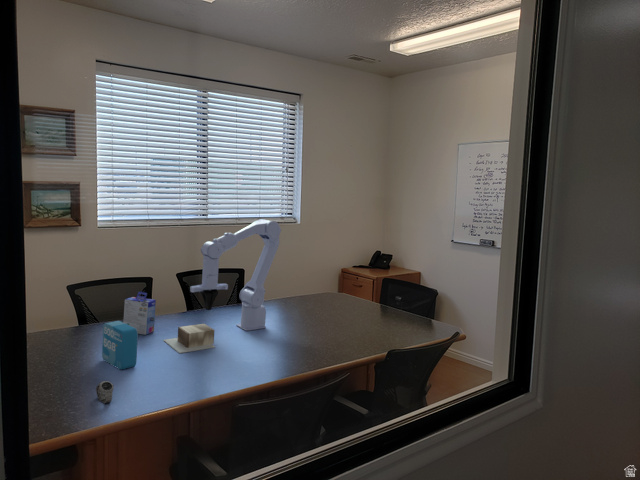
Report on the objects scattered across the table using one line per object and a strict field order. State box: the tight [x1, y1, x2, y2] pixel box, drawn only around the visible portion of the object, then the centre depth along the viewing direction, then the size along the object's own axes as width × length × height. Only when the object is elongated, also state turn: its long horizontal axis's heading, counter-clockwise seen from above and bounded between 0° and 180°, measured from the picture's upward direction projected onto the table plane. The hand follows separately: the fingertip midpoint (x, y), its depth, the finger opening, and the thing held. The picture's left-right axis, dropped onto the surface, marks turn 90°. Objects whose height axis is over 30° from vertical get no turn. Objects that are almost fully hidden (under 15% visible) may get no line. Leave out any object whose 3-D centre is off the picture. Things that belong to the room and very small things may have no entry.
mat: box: [163, 337, 216, 354], centre depth 164 cm, size 13×14×1 cm
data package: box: [101, 320, 139, 371], centre depth 142 cm, size 12×4×12 cm, turn 53°
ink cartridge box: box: [123, 291, 157, 336], centre depth 172 cm, size 10×6×14 cm, turn 78°
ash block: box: [177, 323, 216, 348], centre depth 166 cm, size 5×8×10 cm
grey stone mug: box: [95, 380, 115, 404], centre depth 119 cm, size 4×6×5 cm, turn 48°
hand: (208, 309), depth 176 cm, fingers closed
